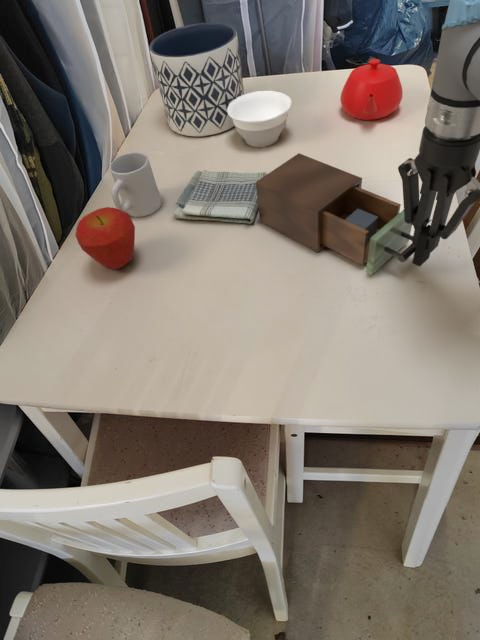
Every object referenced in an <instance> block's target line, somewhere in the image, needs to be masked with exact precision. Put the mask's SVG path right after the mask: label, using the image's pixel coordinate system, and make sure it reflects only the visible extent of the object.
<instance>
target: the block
mask: <svg viewBox="0 0 480 640" xmlns="http://www.w3.org/2000/svg"><path fill="white" fill-rule="evenodd" d="M345 220H346V221H348V222H350V223H352V224H354V225H356V226H358V227H361V228H363V229H365V230H367V231H369V234H368V242H367V244H368V243H369V242H370V238H371V237H372V236H373V235H375V234H376V231H377V223H378V217H377V216H375V215H372V214H370V213H367V212H365V211H363V210H360V209H357V210H356V211H354V212H353V213H352V214H351V215H350V216H349V217H347V218H346V219H345Z"/></svg>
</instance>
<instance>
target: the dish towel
mask: <svg viewBox="0 0 480 640" xmlns="http://www.w3.org/2000/svg"><path fill="white" fill-rule="evenodd" d="M267 174H268V172H266V171H264V172H263V171H262V172H233V171H210V170H206V169H205V170H204V169H203V170H197V171H195V173H193V176H192V177H191V179H190V181H189V182H188V184H187V185H186V187H185V188H184V190H183V191H182V193H181V195H180V196H179V198H178V199H176V202H175V204H176V205H177V206H176V209H175V210H174V213H173V215H174V218H175V219H183V220H193V221H212V222H213V221H216V222H224V223H237V224H248V225H251V224H252V223H254V221H255V219H256V216H257V212H258V211H259V208H258V199H257V190H256V182H257V181H258V180H260V179H261V178H263V177H264V176H266V175H267Z"/></svg>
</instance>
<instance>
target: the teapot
mask: <svg viewBox="0 0 480 640" xmlns="http://www.w3.org/2000/svg"><path fill="white" fill-rule="evenodd" d="M403 94H404V92H403V86H402V83H401V79H400V77H399V74H398V71H397V69H396V68H395V67H393V66H392V65H389V64H385V63H381V59H378V58H372V59H369V60H368V63H367V64H363V65H359V66H357V67H355V68H354V69H352V70H351V72H350V74H349V75H348V76H347V79H346V81H345V83H344V85H343V87H342V90H341V93H340V104H341V109H342V110H343V111H344V112H345V113H346V114H348V115H349V116H350V117H352V118H355V119H357V120H362V121H375V120H379V119H382V118H385V117H388V116H389V115H391V114H393V112H395V111H396V110H397V109H398V108H399V107H400V104H401V102H402V100H403Z"/></svg>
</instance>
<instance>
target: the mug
mask: <svg viewBox="0 0 480 640" xmlns="http://www.w3.org/2000/svg"><path fill="white" fill-rule="evenodd" d="M109 170H110V172H111V176H112V178H113V181H114V184H113V185H112V187H111V198H112V201H113V203H114V206H115V208H116V209H119V210H121V211H124V212H126V213H128V215H129V216H131V217H134V218H143V217H147V216H150V215H153V214H154V213H155V212H157V211H158V210H159V209H160V207H161V206H162V203H163V202H162V197H161V195H160V191H159V188H158V185H157V182H156V178H155V175H154V172H153V170H152V166H151V163H150V159H149V157H148V156H147V155H146V154H145V153H142V152H128V153H125V154H122V155H119V156H118V157H116V158H114V159H113V161H111V163H110V165H109ZM120 199H121V201H120ZM121 202H122V204H123V205H122V204H121Z"/></svg>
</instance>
